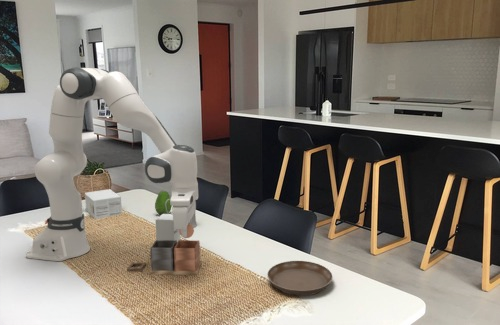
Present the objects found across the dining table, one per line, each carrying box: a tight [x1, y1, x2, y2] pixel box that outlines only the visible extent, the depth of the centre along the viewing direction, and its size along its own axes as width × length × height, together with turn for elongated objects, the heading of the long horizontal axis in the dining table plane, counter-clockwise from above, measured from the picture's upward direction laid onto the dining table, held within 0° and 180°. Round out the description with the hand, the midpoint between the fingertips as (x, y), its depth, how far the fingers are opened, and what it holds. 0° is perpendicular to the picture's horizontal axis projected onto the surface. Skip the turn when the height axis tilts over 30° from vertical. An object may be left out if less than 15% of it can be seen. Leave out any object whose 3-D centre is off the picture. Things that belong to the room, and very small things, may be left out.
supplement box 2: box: [155, 213, 181, 242], centre depth 171 cm, size 7×7×13 cm
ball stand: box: [126, 261, 147, 273], centre depth 153 cm, size 5×5×1 cm
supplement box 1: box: [84, 188, 123, 220], centre depth 216 cm, size 17×13×9 cm
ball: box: [179, 224, 195, 239], centre depth 150 cm, size 5×5×5 cm
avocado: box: [154, 190, 173, 216], centre depth 211 cm, size 8×8×12 cm
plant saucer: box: [267, 260, 333, 296], centre depth 142 cm, size 21×21×3 cm
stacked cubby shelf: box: [149, 239, 202, 276], centre depth 152 cm, size 16×9×9 cm, turn 87°
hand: (186, 233), depth 150 cm, fingers closed on ball, 5 cm apart
